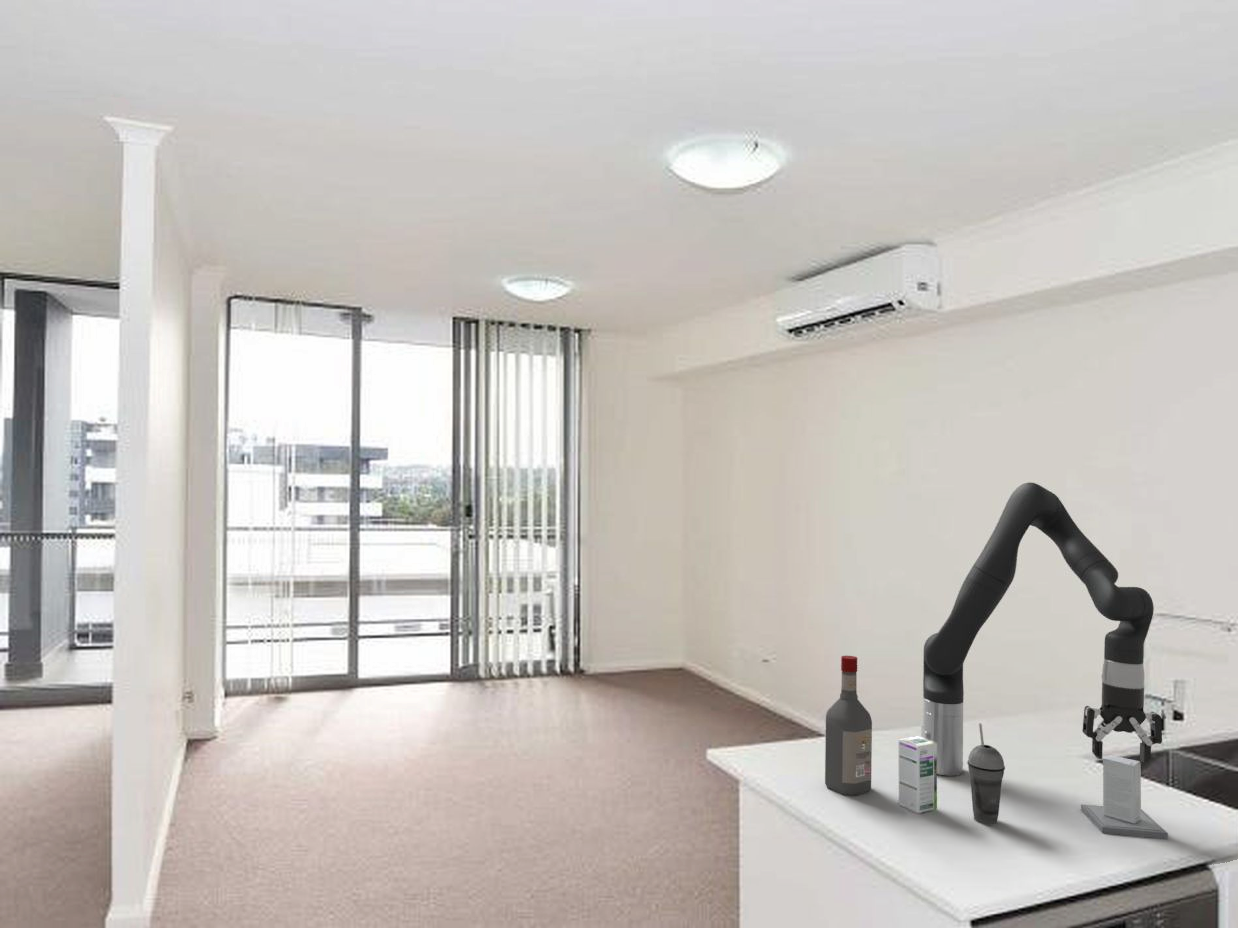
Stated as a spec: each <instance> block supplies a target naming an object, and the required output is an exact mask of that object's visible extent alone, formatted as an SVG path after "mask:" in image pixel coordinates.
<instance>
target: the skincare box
mask: <svg viewBox="0 0 1238 928" xmlns="http://www.w3.org/2000/svg"><path fill="white" fill-rule="evenodd" d="M1141 763H1142V762H1141V761H1140V760H1135V759H1129V758H1125V757H1122V756H1117V755H1113V754H1109V755H1107V756H1105V757H1102V770H1103V772H1102V782H1103V783H1102V790H1103V791H1102V793H1103V794H1102V798H1103V799H1102V804H1103V805H1102V806H1103V815H1104V816H1108V817H1112V818H1115V819H1119V820H1122V821H1126V822H1130V823H1133V824H1135V823H1136V822H1138V821H1139V820H1140V819H1141V809H1142V789H1141V788H1142V787H1141V786H1142V785H1141V784H1142V781H1141V780H1142V779H1141V777H1142V775H1141V773H1142V772H1141V768H1142V767H1141Z"/></svg>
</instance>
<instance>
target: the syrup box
mask: <svg viewBox="0 0 1238 928" xmlns="http://www.w3.org/2000/svg"><path fill="white" fill-rule="evenodd" d="M937 790H938V774H937V743H936V742H934V741H931V740H929V739H926V738H923V737H921V736H918V735H916V736H912V737H905V738H900V739H898V805H899V806H901V807H903V808H905V809H907V810H909V811H911V812H914V813H915V814H921V813H925V812H928V811H933V810H934V811H935V810H937V809H938V791H937Z"/></svg>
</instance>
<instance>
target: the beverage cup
mask: <svg viewBox="0 0 1238 928" xmlns="http://www.w3.org/2000/svg"><path fill="white" fill-rule="evenodd" d="M978 727H979V735H980V736H979V737H980V744H979V745H977V746H975V747H974V748H972V749H971V751H970V752H969V754H968V760H967V763H966V764H967V765H968V767H967V768H968V773H969V777H970V779H969V780H970V787H971V788H970V789H971V790H970V791H971V801H972V813H973V820H974V821H975V822H977V823H980V824H982V825H987V826H991V825H992V826H994V825H997V824H998V818H999V814H1000V813H999V812H1000V802H1001V793H1002V792H1001V791H1002V783H1003V778H1004V774H1005V770H1006V767H1005V762H1004V758H1003V756H1002V754H1001V753H1000V751H998V750H997V748H995V747H993V746H992V745H989V744H985V743H984V733H983V725H982V723H978Z"/></svg>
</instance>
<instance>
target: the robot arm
mask: <svg viewBox="0 0 1238 928" xmlns="http://www.w3.org/2000/svg"><path fill="white" fill-rule="evenodd" d="M1030 526H1031V527H1035V528H1037V529H1038V531H1040V532H1042V533H1043V534H1044V535H1046V536H1047V537H1048V538H1049V539H1050V540H1051V541H1053V542H1054V543H1055V545H1056V546H1057V548H1058V550H1059V551H1060V553H1061V555H1062V557H1063V559H1064V561H1065V562H1066V564H1067V565H1068V567H1069V568H1070V570H1071V571H1072V572H1073V573H1074V574H1075V575H1076V577H1078V579H1079V580H1080V581H1081V582H1082V584H1083V585H1085V587H1086V589H1087V592H1088V594H1089V596H1090V598H1091V600H1092V602H1093V605H1094V607H1095V608H1096V610H1097V611H1098V613H1100V615H1102V616H1103V617H1105V618H1106V619H1108V620H1110V621H1114V622H1119V624H1118V626H1117V628H1115V629H1114V630H1111V631H1109V632H1107V633H1106V634H1105V637H1104V647H1103V648H1104V649H1103V650H1104V651H1103V652H1104V654H1103V657H1104V658H1103V663H1102V664H1103V665H1102V673H1101V706H1100V708H1093V707H1091V706H1088V705H1086V706H1084V710H1083V718H1082V719H1083V720H1082V729H1081V730H1082V733H1083V734H1084V735H1085V736H1086V737H1088V738H1091V752H1092V754H1093V755H1094V756H1095V758H1096V759H1097V760H1103V746H1104V745H1103V744H1104V743H1103V741H1102V740H1103V739H1104V738H1105V737H1106V736H1107V735H1109V734H1110V733H1112V732H1113V731H1114V732H1115V733H1116V732H1117V733H1120V732H1121V733H1122V732H1124V733H1129V734H1132V733H1135V734H1136V736H1137V737H1138V738H1139V739H1140V740H1141V742H1139V761H1140V762H1141V763H1142V764H1147V765H1148V763H1149V762H1150V761H1151V760H1152V759H1151V758H1152V754H1151V753H1152V746H1153V745H1156V744H1158V745H1159V744H1160V745H1161V744H1163V728H1162V727H1163V726H1162V716H1161V715H1160V714H1159V713H1157V712H1155V711H1150V712H1145V711H1144V707H1145V669H1144V657H1145V656H1144V650H1145V649H1144V647H1145V645H1144V644H1145V640H1146V639H1147V636H1148V633H1149V629H1150V627H1151V624H1152V620H1153V616H1154V611H1155V609H1154V607H1155V606H1154V602H1153V599H1152V597H1151V595H1150V593H1148V591H1147V590H1145V589H1144V588H1141V587H1139V586H1138V587H1137V586H1117V585H1116V582H1117V581H1118V579H1119V572H1118V570H1117V568H1116V567H1115V566H1114V564H1113V563H1112V562H1111V561H1110V560H1109V559H1108V558H1107V557H1106V556H1105V555H1104V554H1103V553H1102V552H1101V551H1100V550H1099V549H1098V548H1097V546H1096V545H1095V544H1093V542H1091V540H1090V539H1089V538H1088V537H1087V536H1086V535H1085V534H1084V533H1083V532H1082V531H1081V529H1080V528H1079V527H1078V525H1077V524H1076V522H1075V521H1074V520H1073V518H1072V517H1071V515H1070V513H1069V512H1068V510H1067V509H1066V507H1065V506H1064V504H1063V502H1062V501H1061V499H1060V498H1059V497H1058V496H1057V494H1055V493H1053V492H1052V491H1050V490H1049V489H1047V488H1045V486H1042V485H1040V484H1038V483H1035V482H1030V481H1029V482H1025V483H1023V484H1020V485H1019V486H1018V487H1016V489H1015V490H1013V491H1012V493H1011V494H1010V496H1009V498H1008V499H1007V502H1006V503H1005V506H1004V508H1003V511H1002V513H1001V515H1000V517H999V519H998V522H997V523H996V526H995V527H994V530H993V531H992V533H991V535H990V537H989V538H988V540H987V542H986V544H985V545H984V547H983V549H982V550H981V552H980V555H978V558H976V561H975V562H974V563H973V565H972V566H971V569H969V572H968V573H967V575H966V577H965V579H964V581H963V583H962V584H961V586H960V588H959V591H958V594H957V597H956V599H955V602H954V605H953V606H952V610H951V611H950V614H949V616H948V617H947V619H946V621H945V622H944V624H943V625H942V626H941V628H940V629H939V631H938V632H935V633H933V634H931V635H930V636H929V637H927V639H926V640H925V642H924V645H923V674H922V675H923V676H922V677H923V678H922V679H923V680H922V681H923V683H922V684H923V686H922V687H923V688H922V689H923V690H922V691H923V693H922V695H923V707H922V710H923V712H922V713H923V715H922V718H923V719H922V725H921V729H920V732H921V736H920V737H923V738H926V739H929V740H931V741H934V742H936V743H937V775H941V776H948V777H949V776H951V777H952V776H953V777H954V776H959V775H962V774H963V771H964V697H965V696H964V663H965V661H966V658H967V656H968V654H969V651H970V649H971V646H972V645H973V643H974V641H975V638H976V637H977V635H978V633H979V631H980V630H981V628H982V627H983V626H984V625H985V623H986V622H987V620H988V619H989V618H990V616H991V615H992V614H993V612H994V611H995V609H996V608H997V607H998V605H999V603H1000V602H1001V601H1002V599H1003V598H1004V596H1005V594H1006V593H1007V591H1008V590H1009V588H1010V586H1011V584H1012V582H1013V581H1014V578H1015V575H1016V570H1017V561H1018V555H1019V554H1018V552H1019V547H1020V545H1021V544H1020V543H1021V542H1022V539H1023V537H1024V535H1025V534H1026V532H1027V531H1028V529H1029V528H1030ZM1099 715H1100V717H1101V718H1102V720H1101V721H1100V723H1098V724H1097V727H1096V728H1095V729H1094V723H1095V720H1096V719H1097V718H1098V716H1099ZM1146 720H1147V721H1146ZM1144 721H1146V722H1148V723H1149V726H1150V728H1149V729H1150V735H1149V736H1148V734H1147V733H1146V731H1145V729H1143V727H1142V726H1141V725H1142V724H1143V723H1144Z"/></svg>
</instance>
